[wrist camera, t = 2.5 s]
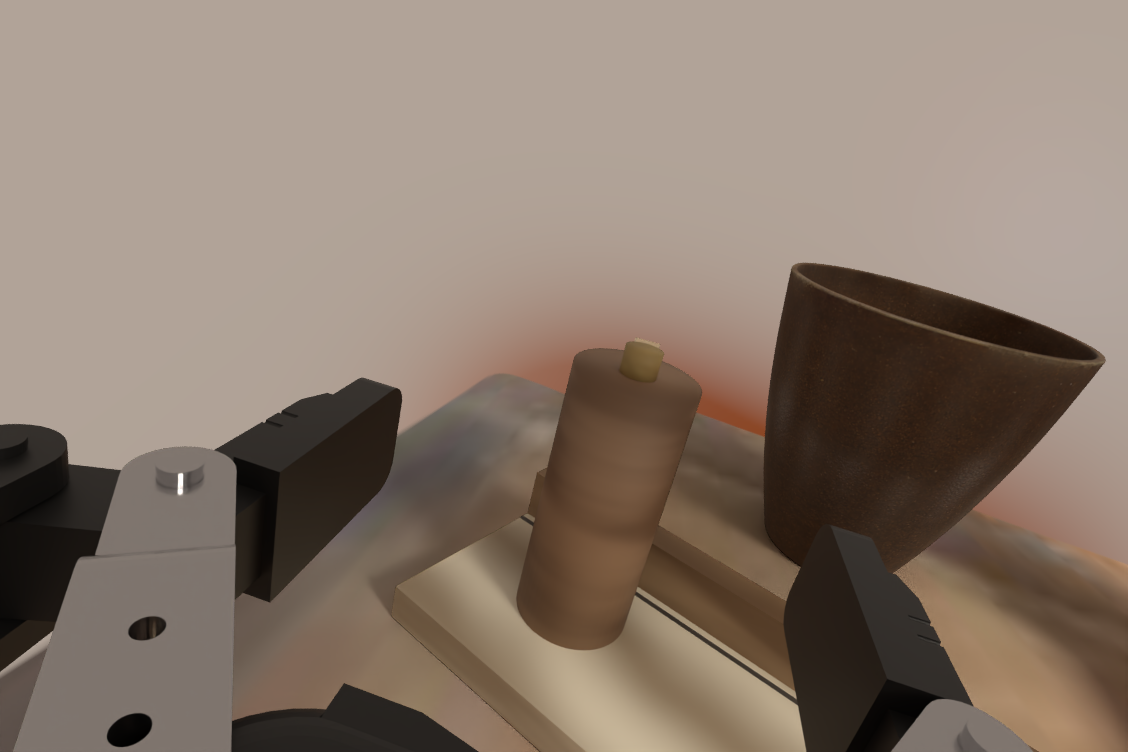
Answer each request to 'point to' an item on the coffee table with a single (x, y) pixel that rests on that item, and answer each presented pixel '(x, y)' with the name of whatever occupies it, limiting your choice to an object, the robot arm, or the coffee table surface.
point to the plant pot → (902, 407)
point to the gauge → (604, 492)
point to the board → (616, 653)
